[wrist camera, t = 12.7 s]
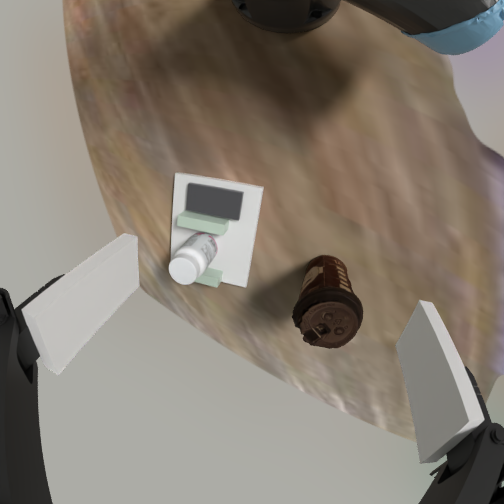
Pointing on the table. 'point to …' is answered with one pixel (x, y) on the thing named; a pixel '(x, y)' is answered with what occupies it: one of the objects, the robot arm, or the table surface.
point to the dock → (231, 239)
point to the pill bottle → (193, 258)
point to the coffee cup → (327, 304)
